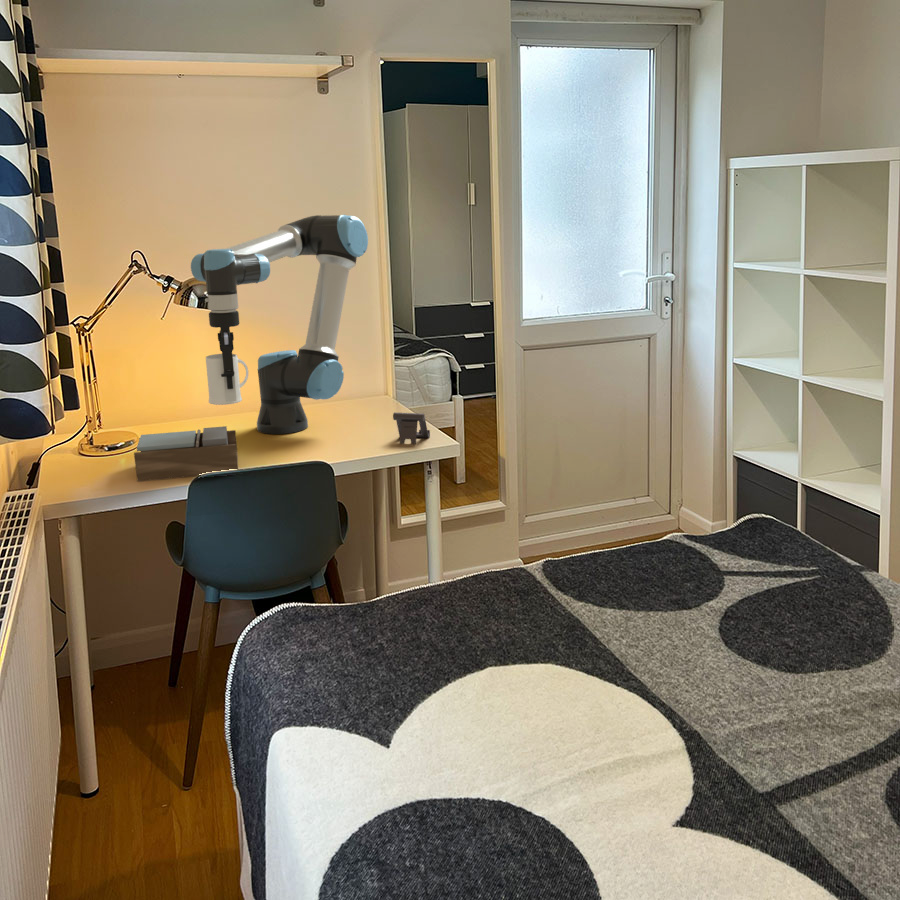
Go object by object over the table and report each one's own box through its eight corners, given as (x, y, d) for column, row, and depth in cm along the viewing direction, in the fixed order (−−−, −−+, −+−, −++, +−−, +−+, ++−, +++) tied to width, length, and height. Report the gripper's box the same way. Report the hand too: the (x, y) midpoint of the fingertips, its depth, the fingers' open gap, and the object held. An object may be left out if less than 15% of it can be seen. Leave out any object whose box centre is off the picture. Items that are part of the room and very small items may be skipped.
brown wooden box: (142, 464, 264) (138, 434, 261) (237, 456, 268) (235, 426, 266) (137, 481, 249) (133, 449, 247) (238, 472, 254) (235, 441, 251)
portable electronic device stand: (430, 437, 282) (429, 408, 280) (423, 444, 275) (421, 415, 272) (401, 436, 284) (400, 407, 282) (392, 443, 277) (391, 414, 275)
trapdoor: (228, 447, 266) (226, 426, 264) (228, 460, 254) (226, 438, 252) (143, 454, 262) (140, 433, 260) (139, 468, 249) (136, 445, 248)
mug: (243, 394, 266) (240, 350, 263) (258, 399, 260) (255, 354, 257) (203, 401, 259) (198, 356, 256) (217, 406, 253) (213, 360, 250)
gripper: (208, 306, 262) (215, 390, 268) (208, 316, 242) (216, 406, 248) (237, 305, 263) (243, 389, 269) (239, 314, 244) (246, 404, 250)
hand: (230, 397), depth 259 cm, fingers closed on mug, 8 cm apart
